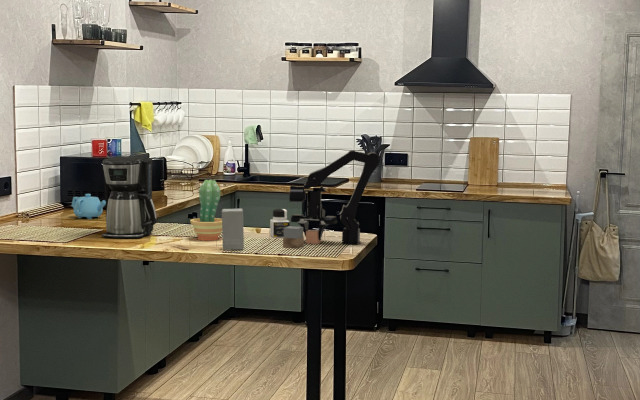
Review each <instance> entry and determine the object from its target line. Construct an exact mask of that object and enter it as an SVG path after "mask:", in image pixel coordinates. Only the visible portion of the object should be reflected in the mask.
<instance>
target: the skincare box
mask: <svg viewBox="0 0 640 400" xmlns="http://www.w3.org/2000/svg"><path fill="white" fill-rule="evenodd" d="M221 219H222V232H221V233H222V238H221V239H222V250H223V251H224V250H225V251H227V250H229V251H233V250H244V247H245V234H244V233H245V232H244V209H243V208H222V210H221Z"/></svg>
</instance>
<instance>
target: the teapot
mask: <svg viewBox="0 0 640 400" xmlns="http://www.w3.org/2000/svg"><path fill="white" fill-rule="evenodd" d="M91 195H92V194H91V193H84V196H73V197H72V201H71V207H72V208H73V214H74V215H75V217H77V219H78V218H81V219H83V217H84V218H86V220H92V219H93V218H94V217H99V216H101V215H102V214H103V212H104V211H103V210H104V209H103V208H104V207H106V199H103V200H102V201H100V200H101V199H99V197H98V196H91Z"/></svg>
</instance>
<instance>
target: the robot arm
mask: <svg viewBox="0 0 640 400" xmlns="http://www.w3.org/2000/svg"><path fill="white" fill-rule="evenodd" d="M352 161H353V162H354V161H355V162H356V161H357V162H359V163H363V166H362V172H361V173H360V176H359V178H358V181H357V183H356V186H355V188H354V190H353V193H352V195H351V197H350V200H349V201H348V203H347V204H346V205H345V204H343V205H342V208H341V211H340V212H339V219H340V222H341V224H342V225H343V226H344V227H343V231H342V233H341V236H342V237H341V243H342V244H346V245H359V244H360V243H362V241H361V228H359V227H360V223H359V221H357V219H356V215H357V214H356V213H357V210H358V209H357V208H358V206H359V203H360V201H361V199H362V197H363V194H364V192H365V190H366V187H367V185H368V182H369V180H370V177H371V176H372V174H373V173H374V172H375V170H376V169H377V167H378V166H379V165H380V162H381V159H380V156H379V155H378V154H377V152H372V151H371V152H368V153H366V152H362V151H356V150H354V149H351V150H349V151H348V152H346V153H345V154H344V155H342V156H341V157H338V158H337V159H336V160H334V161H333V162H331V163H330V164H328V165H326V166H325V167H322V168H319V169H316V170H315V171H312V172H310V173H309V174H308V175H307V180H306V182H305V183H304V185H299V186H298V185H290V186H289V189H290V190H289V196H288V197H289V198H288V199H289V200H288V201H289V203H304V201H305V200H306V198H307V202H306V203H307V204H306V205H305V206H306V209H307V210H306V215H304V214H302V213H299V214H298V213H294V214H293V215H291V216H290V222H291V223H297V224H298V226H299V227H303V235H304V237H306V231H308V230H309V224H310V223H309V222H316V223H317V222H319V224H318V230H319V240H321V241H322V237H323V234H324V232H325V229H326V228H327V226H329V225H335V224H337V223H338V218H337V216H336V215H335V216H334V215H327V216H326V210H325V209H324V208H323V204H322V193H325V192H326V189H325V188H324V186H323V185H321V184H322V183H323V182H324V181H326V179H327V178H328V177H329V176H331V175H332V174H334V173H335V172H336V171H338V170H340V169H342V168H343V167H345V166H346V165H348V164H349V163H351V162H352ZM320 185H321V186H320ZM318 186H320V187H318ZM311 188H312V189H311Z"/></svg>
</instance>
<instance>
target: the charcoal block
mask: <svg viewBox="0 0 640 400" xmlns="http://www.w3.org/2000/svg"><path fill="white" fill-rule="evenodd" d="M301 237H304V232H303V227H301V226H291V225H290V226H288V227H285V228H284V238H293V239H299V238H301Z"/></svg>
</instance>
